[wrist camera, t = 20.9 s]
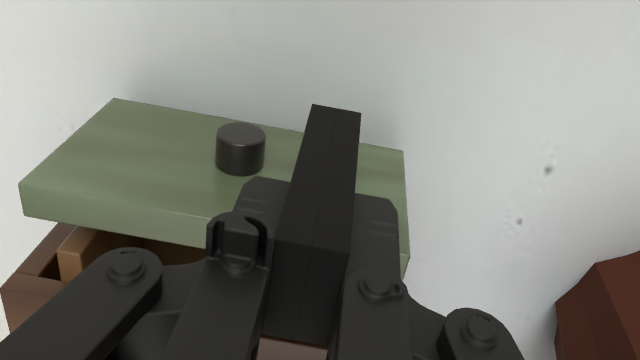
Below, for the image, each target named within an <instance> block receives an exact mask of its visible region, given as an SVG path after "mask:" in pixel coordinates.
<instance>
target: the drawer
mask: <svg viewBox="0 0 640 360" xmlns="http://www.w3.org/2000/svg"><path fill="white" fill-rule="evenodd" d="M303 136H304V133H303V132H298V131H292V130H287V129H281V128H276V127H270V126H265V125H260V124H254V123H249V122H243V121H238V120H232V119H227V118H221V117H216V116H210V115H205V114H199V113H194V112H189V111H183V110H178V109H172V108H167V107H161V106H156V105H150V104H145V103H139V102H134V101H128V100H123V99H118V98H113V99H112V100H111V101H110V102H108V103H107V104H106V105H105V106H104V107H103V108H102V109H101V110H99V111H98V112H97V113H96V114H95V115H94V116H93V117H92V118H91V119H89V120H88V121H87V122H86V123H85V124H84V125H83V126H82V127H81V128H79V129H78V130H77V131H76V132H75V133H74V134H73V135H72V136H70V137H69V138H68V139H67V140H66V141H65V142H64V143H63V144H62V145H60V146H59V147H58V148H57V149H56V150H55V151H54V152H53V153H52V154H50V155H49V156H48V157H47V158H46V159H45V160H44V161H43V162H41V163H40V164H39V165H38V166H37V167H36V168H35V169H34V170H33V171H31V172H30V173H29V174H28V175H27V176H26V177H25V178H24V179H23V180H21V181H20V182H19V184H18V187H19V192H20V197H21V202H22V207H23V213H24V215H25V216H28V217H33V218H38V219H44V220H49V221H55V222H60V223H65V224H71V225H76V227H75V228H74V230H73V231H72V232H71V233H70V234H69V236H68V237H67V238H66V239H65V240H64V242H63V243H62V244H61V245H60V246H59V248H58V249H57V258H58V264H59V270H60V277H61V281H64V282H70V281H72V280H73V279H74V278H75V277H76V276H77V275H78V274H80V273H81V272H82V271H83V270H84V269H85V268H87V267H88V266H89V265H90V264H91V263H92V262H93V261H95V260H96V259H97V258H98V257H100V256H102V255H103V254H105V253H106V252H108V251H111V250H115V249H118V248H123V247H137V248H142V249H147V250H149V251H151V252H152V253H154V254H156V255H157V256H158V258H159V259H160V261H161V262H162V266H163V265H181V264H189V263H193V262H196V261H200V260H202V259H204V258H205V248H206V227H207V224H208V223H209V222H210V220H211V219H212V218H213V217H215V216H217V215H219V214H221V213H225V212H231V211H232V210H233V209H234V206H235V203H236V201H237V199H238V196H239V194H240V191H241V189H242V187H243V184H245V183H246V182H248V181H249V180H250V179H252V178H253V177H254V176H261V177H267V178H272V179H278V180H283V181H288V182H291V179H292V175H293V171H294V168H295V164H296V161H297V157H298V154H299V150H300V146H301V143H302V139H303ZM355 193H360V194H365V195H371V196H376V197H381V198H387V199H390V201H391V202H392V204H393V205H394V207H395V208H396V210H397V211H398V224H399V225H398V228H399V246H400V268H401V280H402V281H403V278H404V274H405V271H406V268H407V265H408V262H409V259H410V244H409V230H408V215H407V200H406V186H405V171H404V156H403V151H402V150H396V149H391V148H385V147H380V146H374V145H369V144H363V143H359V147H358V160H357V172H356V185H355Z"/></svg>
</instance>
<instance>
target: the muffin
mask: <svg viewBox="0 0 640 360" xmlns="http://www.w3.org/2000/svg"><path fill="white" fill-rule="evenodd" d="M555 304H556V312H557V321H558V324H557V330H556V336H555V342H554V344H555V351H556V358H557V360H640V251H638V252H636V253H633V254H630V255H627V256H623V257H618V258H614V259H610V260H606V261H602V262H598V263H595V264H594V265H593V266H592V267H591V269H590V270H589V271H588V272H587V273H586V275H585V276H584V277H583V278H582V279H581V280H580V282H579V283H578V284H577V285H576V286H575V287H573V288H572V289H571V290H570V291H569V292H567V293H566V294H565V295H564V296H563V297H561V298H560V299H559V300H558V301H557V302H555Z"/></svg>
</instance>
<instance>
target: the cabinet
mask: <svg viewBox="0 0 640 360" xmlns="http://www.w3.org/2000/svg"><path fill="white" fill-rule="evenodd" d="M75 227H76V225H71V224H65V223H60V222H58V223H57V225H56V226H55V227H54V228H53V229H52V230H51V231H50V232H49V234H48V235H47V236H46V237H45V238H44V239H43V240H42V241H41V243H40V244H39V245H38V246H37V247H36V248H35V249H34V250H33V252H32V253H31V254H30V255H29V256H28V257H27V258H26V260H25V261H24V262H23V263H22V264H21V265H20V266H19V267H18V269H17V270H16V271H15V273H13V274H12V275H11V276H10V277H9V279H8V280H7V281H6V282H5V283H4V284H3V285H2V286H1V288H0V294H1V298H2V302H3V306H4V310H5V314H6V318H7V323H8V327H9V331H10V334H11V333H12V332H13V331H14V330H15V329H16V328H17V327H19V326H20V325H21V324H22V323H23V322H24V321H26V320H27V319H28V318H29V317H30V316H31V315H32V314H34V313H35V312H36V311H37V310H38V309H39V308H40V307H42V306H43V305H44V304H45V303H46V302H47V301H49V300H50V299H51V298H52V297H53V296H54V295H55V294H57V293H58V292H59V291H60V290H61V289H62V288H63V287H65V286H66V285H67V284H68V283H69V282H64V281H61V277H60V270H59V264H58V258H57V249H58V248H59V246H60V245H61V244H62V243H63V242H64V240H65V239H66V238H67V237H68V236H69V234H70V233H71V232H72V231H73V230H74V228H75ZM328 343H329V342H328ZM327 351H328V346H323V345H318V344H312V343H307V342H302V341H296V340H291V339H286V338H280V337H275V336H270V335H264V334H261V336H260V342H259V349H258V355H257V360H326V356H327Z"/></svg>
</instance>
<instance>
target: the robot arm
mask: <svg viewBox="0 0 640 360" xmlns="http://www.w3.org/2000/svg"><path fill="white" fill-rule="evenodd" d="M360 122H361V113H359V112H353V111H348V110H342V109H337V108H332V107H326V106H321V105H316V104H312V107H311V111H310V114H309V118H308V121H307V125H306V129H305V132H304V136H303V139H302V143H301V146H300V150H299V154H298V157H297V161H296V164H295V168H294V171H293V175H292V179H291V182H288V181H283V180H278V179H272V178H267V177H261V176H254V177H253V178H252V179H250V180H249V181H248V182H246V183H245V184H243V187H242V189H241V191H240V194H239V196H238V199H237V201H236V203H235V206H234V209H233V210H232V211H231V212H225V213H221V214H219V215H217V216H215V217H213V218H212V219H211V220H210V222H209V223H208V224H207V227H206V248H205V258H204V259H202V260H200V261H196V262H193V263H189V264H181V265H163V266H162V262H161V261H160V259H159V258H158V256H157V255H156V254H154V253H152V252H151V251H149V250H147V249H142V248H137V247H123V248H118V249H115V250H111V251H108V252H106V253H105V254H103V255H102V256H100V257H98V258H97V259H96V260H95V261H93V262H92V263H91V264H90V265H89V266H88V267H87V268H85V269H84V270H83V271H82V272H81V273H80V274H78V275H77V276H76V277H75V278H74V279H73V280H72V281H70V282H69V283H68V284H67V285H66V286H65V287H63V288H62V289H61V290H60V291H59V292H58V293H57V294H55V295H54V296H53V297H52V298H51V299H50V300H49V301H47V302H46V303H45V304H44V305H43V306H42V307H40V308H39V309H38V310H37V311H36V312H35V313H34V314H32V315H31V316H30V317H29V318H28V319H27V320H26V321H24V322H23V323H22V324H21V325H20V326H19V327H17V328H16V329H15V330H14V331H13V332H12V333H11V334H9V335H8V336H7V337H6V338H5V339H4V340H2V341H1V342H0V360H257V355H258V349H259V342H260V336H261V334H264V335H270V336H275V337H280V338H286V339H291V340H296V341H302V342H307V343H312V344H318V345H323V346H328V351H327V356H326V360H524V358H523V356H522V354H521V352H520V351H519V349H518V347H517V345H516V343H515V341H514V340H513V338H512V336H511V334H510V333H509V331H508V330H507V329H506V327H505V326H504V325H503V324H502V323H501V322H500V321H498V320H497V319H496V318H495V317H493V316H492V315H490V314H488V313H485V312H483V311H481V310H478V309H472V308H460V309H455V310H454V311H452V312H451V313H449V314H448V315H447V317H445V316H443V315H440V314H438V313H436V312H434V311H431V310H429V309H427V308H425V307H424V306H422V305H420V304H419V303H417V302H416V301H415V300H414V299H412V298H411V296H410V295H409V294H408V291H407V287H406V285H405V284H404V283H403V282H402V280H401V268H400V246H399V228H398V225H399V224H398V211H397V210H396V208H395V207H394V205H393V204H392V202H391V201H390V199H387V198H381V197H376V196H371V195H365V194H360V193H355V185H356V172H357V160H358V147H359V135H360ZM328 342H329V343H328Z"/></svg>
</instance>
